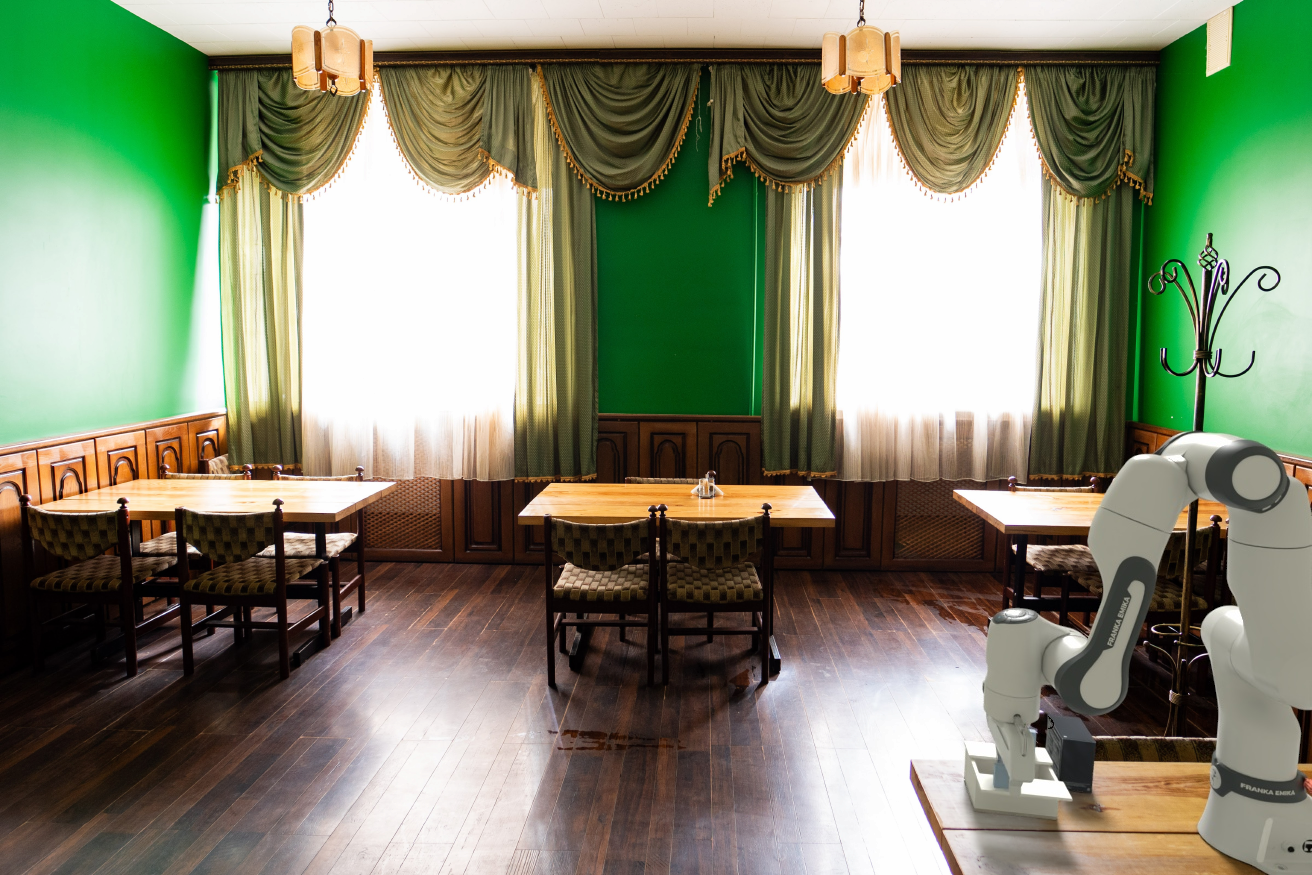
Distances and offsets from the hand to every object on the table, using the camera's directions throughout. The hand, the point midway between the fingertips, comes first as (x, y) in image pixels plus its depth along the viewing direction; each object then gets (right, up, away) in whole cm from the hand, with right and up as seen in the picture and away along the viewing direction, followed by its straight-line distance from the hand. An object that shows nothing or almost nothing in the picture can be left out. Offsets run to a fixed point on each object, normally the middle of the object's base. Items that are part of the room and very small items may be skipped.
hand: (1007, 778), depth 141 cm
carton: (+5, -8, +11) cm, 14 cm away
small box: (+19, -8, +18) cm, 27 cm away
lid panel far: (+5, -1, +12) cm, 14 cm away
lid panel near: (+3, -2, +1) cm, 4 cm away
